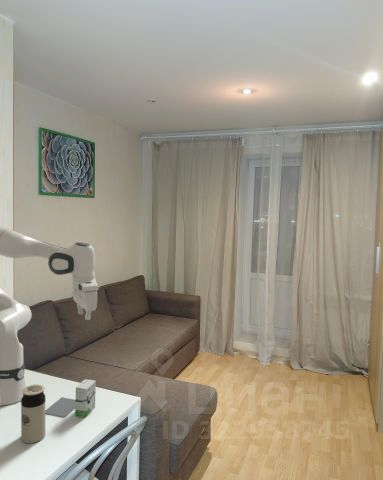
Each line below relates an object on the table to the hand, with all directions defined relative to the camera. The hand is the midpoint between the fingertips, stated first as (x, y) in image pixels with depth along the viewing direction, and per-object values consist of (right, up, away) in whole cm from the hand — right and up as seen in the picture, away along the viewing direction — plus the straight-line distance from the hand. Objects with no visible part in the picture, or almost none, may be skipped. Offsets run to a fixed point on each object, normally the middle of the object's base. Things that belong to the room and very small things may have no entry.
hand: (84, 316), depth 153 cm
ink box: (0, -39, +1) cm, 39 cm away
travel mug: (-13, -40, -17) cm, 46 cm away
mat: (-10, -38, +3) cm, 40 cm away
